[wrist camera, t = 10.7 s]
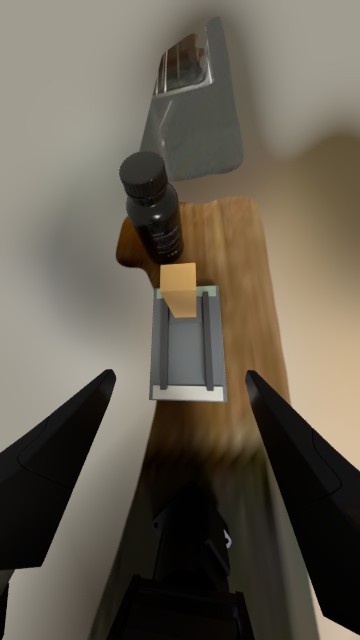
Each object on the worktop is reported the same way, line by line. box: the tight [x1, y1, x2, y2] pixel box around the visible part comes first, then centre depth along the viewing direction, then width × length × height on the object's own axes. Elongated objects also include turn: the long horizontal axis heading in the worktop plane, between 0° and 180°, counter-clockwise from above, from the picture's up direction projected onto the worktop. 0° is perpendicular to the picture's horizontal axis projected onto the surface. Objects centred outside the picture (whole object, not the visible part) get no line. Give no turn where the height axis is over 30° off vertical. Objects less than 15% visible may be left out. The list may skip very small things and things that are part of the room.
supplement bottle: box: [119, 150, 184, 264], centre depth 20 cm, size 7×7×12 cm
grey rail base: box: [149, 285, 227, 402], centre depth 20 cm, size 16×10×3 cm, turn 0°
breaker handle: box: [160, 263, 202, 323], centre depth 17 cm, size 4×4×9 cm
